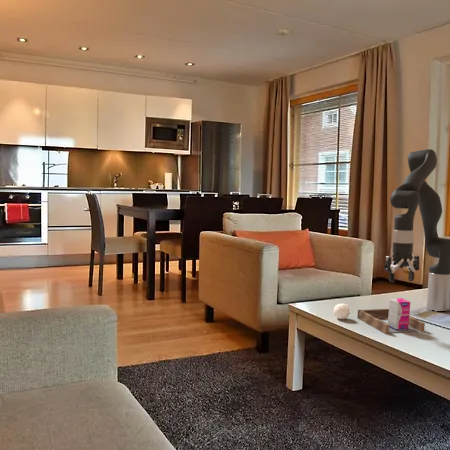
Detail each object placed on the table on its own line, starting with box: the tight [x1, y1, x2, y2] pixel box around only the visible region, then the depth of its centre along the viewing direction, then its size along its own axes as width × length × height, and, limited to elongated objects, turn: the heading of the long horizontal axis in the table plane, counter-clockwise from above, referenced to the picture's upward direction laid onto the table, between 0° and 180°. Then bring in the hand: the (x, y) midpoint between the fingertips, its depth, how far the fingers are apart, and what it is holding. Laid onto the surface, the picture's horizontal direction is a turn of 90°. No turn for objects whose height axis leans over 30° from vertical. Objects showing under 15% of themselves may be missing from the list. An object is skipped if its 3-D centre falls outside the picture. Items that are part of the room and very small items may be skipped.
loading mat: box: [389, 326, 419, 334], centre depth 187 cm, size 9×12×1 cm
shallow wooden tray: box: [357, 308, 426, 335], centre depth 193 cm, size 22×17×4 cm
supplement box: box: [387, 297, 411, 330], centre depth 187 cm, size 6×6×12 cm
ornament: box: [333, 303, 351, 320], centre depth 199 cm, size 6×7×7 cm
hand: (401, 281), depth 188 cm, fingers open, 8 cm apart
